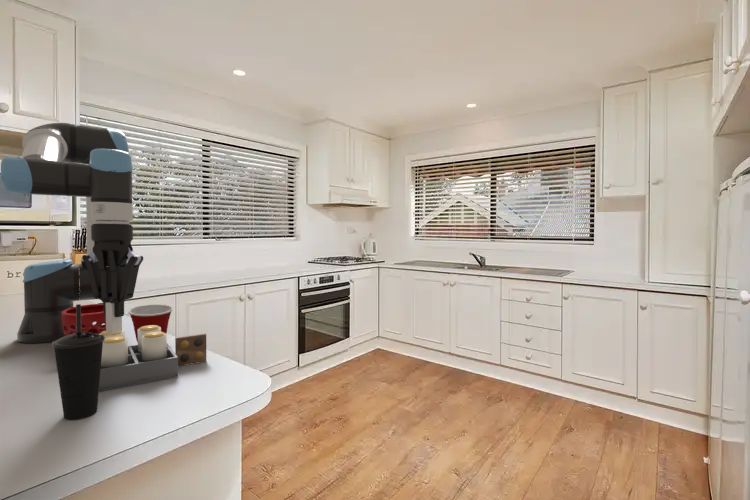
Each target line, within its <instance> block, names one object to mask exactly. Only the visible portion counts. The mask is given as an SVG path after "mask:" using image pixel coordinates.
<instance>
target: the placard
mask: <svg viewBox="0 0 750 500" xmlns="http://www.w3.org/2000/svg"><path fill="white" fill-rule="evenodd" d="M174 340H175V341H174V343H175V344H174V345H175V346H174V347H175V349H174V353H175V354H176V355H177V357H178V367H181V366H182V365H183V366H187V365H186V364H188V365H192V364H191V363H194V364H198V363H197V362H200V363H204V362H203V361H205V362H207V333H199V334H191V335H184V336H176V337H175V339H174Z"/></svg>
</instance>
